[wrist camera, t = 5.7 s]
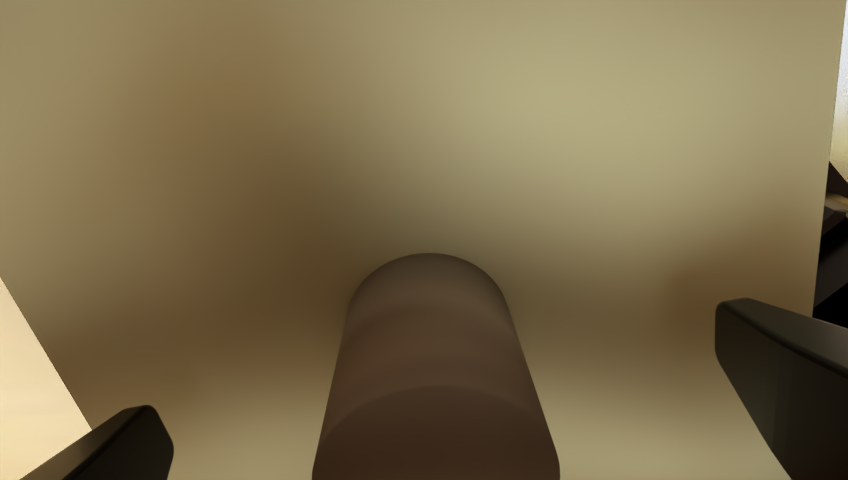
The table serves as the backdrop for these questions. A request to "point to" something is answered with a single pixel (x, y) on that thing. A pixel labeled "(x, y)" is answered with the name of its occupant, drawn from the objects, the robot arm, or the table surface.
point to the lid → (415, 225)
